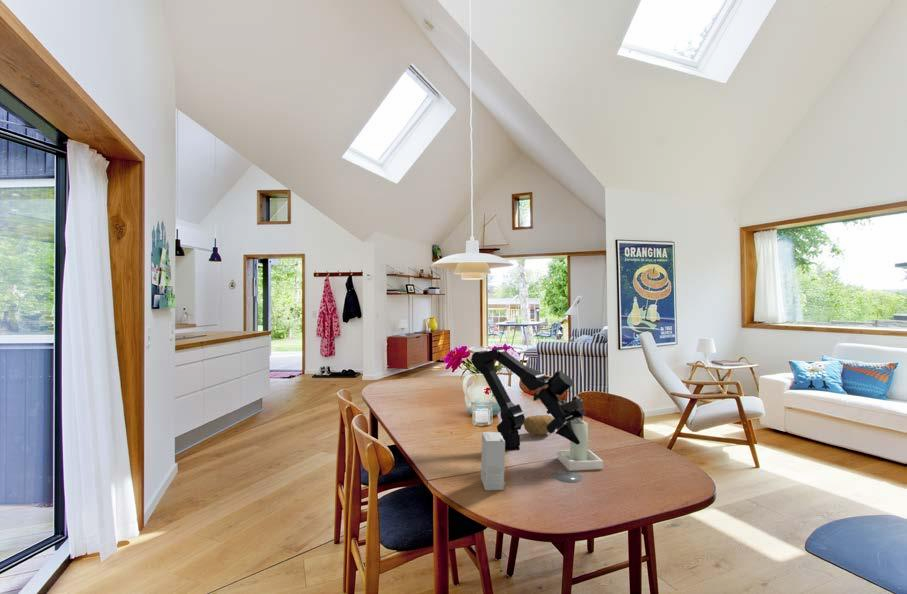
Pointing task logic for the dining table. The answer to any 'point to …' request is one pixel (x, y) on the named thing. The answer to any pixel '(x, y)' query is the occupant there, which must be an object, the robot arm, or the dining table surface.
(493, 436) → the skincare box
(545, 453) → the dining table surface
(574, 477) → the slate coaster
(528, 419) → the potato
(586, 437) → the pebble cup
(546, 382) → the robot arm
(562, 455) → the stoneware dish
